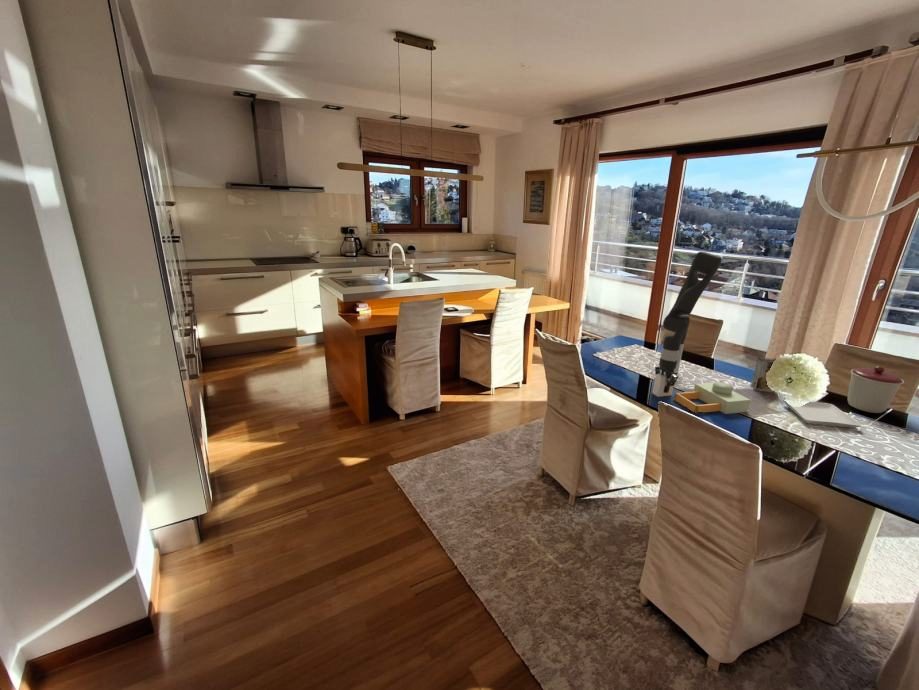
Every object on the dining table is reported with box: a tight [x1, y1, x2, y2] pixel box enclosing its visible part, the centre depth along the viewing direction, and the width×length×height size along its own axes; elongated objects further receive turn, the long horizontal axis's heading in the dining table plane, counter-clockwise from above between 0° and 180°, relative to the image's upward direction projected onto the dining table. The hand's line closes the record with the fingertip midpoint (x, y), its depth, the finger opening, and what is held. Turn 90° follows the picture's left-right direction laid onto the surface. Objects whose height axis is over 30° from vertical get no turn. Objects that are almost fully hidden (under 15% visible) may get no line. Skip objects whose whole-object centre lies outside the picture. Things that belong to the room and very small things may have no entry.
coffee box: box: [750, 356, 777, 393], centre depth 217 cm, size 9×6×16 cm
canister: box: [847, 365, 905, 414], centre depth 198 cm, size 18×18×21 cm
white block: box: [651, 374, 675, 398], centre depth 208 cm, size 4×8×10 cm, turn 103°
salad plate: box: [782, 398, 862, 429], centre depth 191 cm, size 21×21×3 cm
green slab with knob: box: [673, 381, 751, 415], centre depth 199 cm, size 20×25×9 cm
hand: (662, 390), depth 209 cm, fingers closed on white block, 4 cm apart
